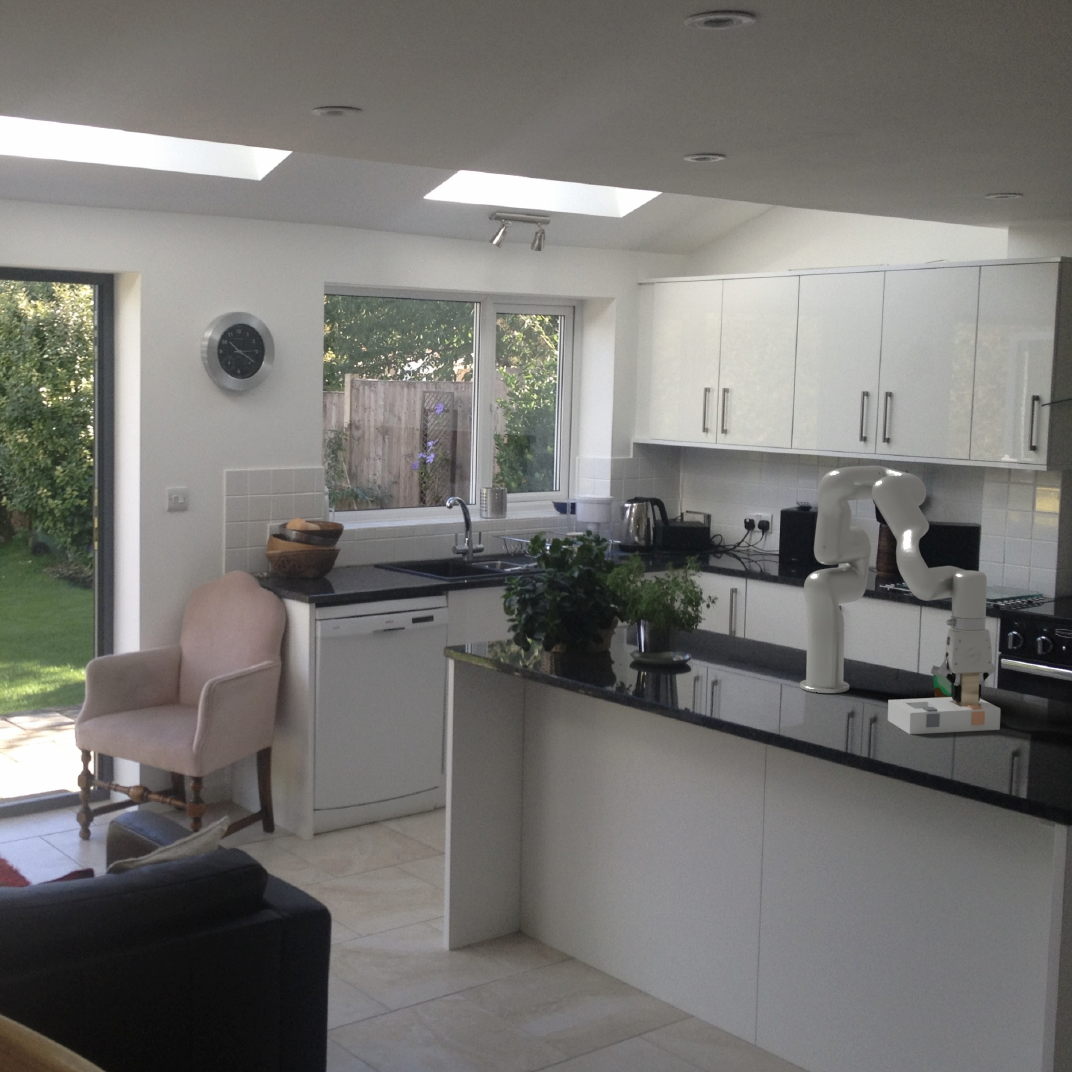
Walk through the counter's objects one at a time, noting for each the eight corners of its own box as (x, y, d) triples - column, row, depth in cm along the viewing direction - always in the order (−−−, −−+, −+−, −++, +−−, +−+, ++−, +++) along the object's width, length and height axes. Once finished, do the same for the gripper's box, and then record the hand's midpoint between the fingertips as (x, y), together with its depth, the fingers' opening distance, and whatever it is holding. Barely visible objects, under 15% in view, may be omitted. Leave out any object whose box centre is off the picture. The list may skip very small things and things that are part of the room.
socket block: (887, 720, 303) (888, 698, 302) (974, 716, 306) (975, 694, 306) (910, 734, 291) (910, 711, 290) (1000, 730, 294) (1001, 707, 294)
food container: (944, 710, 312) (945, 670, 310) (929, 704, 318) (931, 665, 316) (987, 706, 315) (989, 667, 314) (973, 701, 321) (974, 662, 320)
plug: (953, 707, 301) (954, 666, 300) (969, 706, 301) (971, 665, 300) (961, 712, 297) (963, 670, 296) (978, 711, 297) (979, 669, 296)
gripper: (941, 628, 292) (939, 706, 294) (1010, 625, 294) (1007, 702, 296) (927, 622, 299) (925, 698, 301) (993, 619, 302) (991, 695, 304)
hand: (965, 699), depth 299 cm, fingers closed on plug, 4 cm apart
